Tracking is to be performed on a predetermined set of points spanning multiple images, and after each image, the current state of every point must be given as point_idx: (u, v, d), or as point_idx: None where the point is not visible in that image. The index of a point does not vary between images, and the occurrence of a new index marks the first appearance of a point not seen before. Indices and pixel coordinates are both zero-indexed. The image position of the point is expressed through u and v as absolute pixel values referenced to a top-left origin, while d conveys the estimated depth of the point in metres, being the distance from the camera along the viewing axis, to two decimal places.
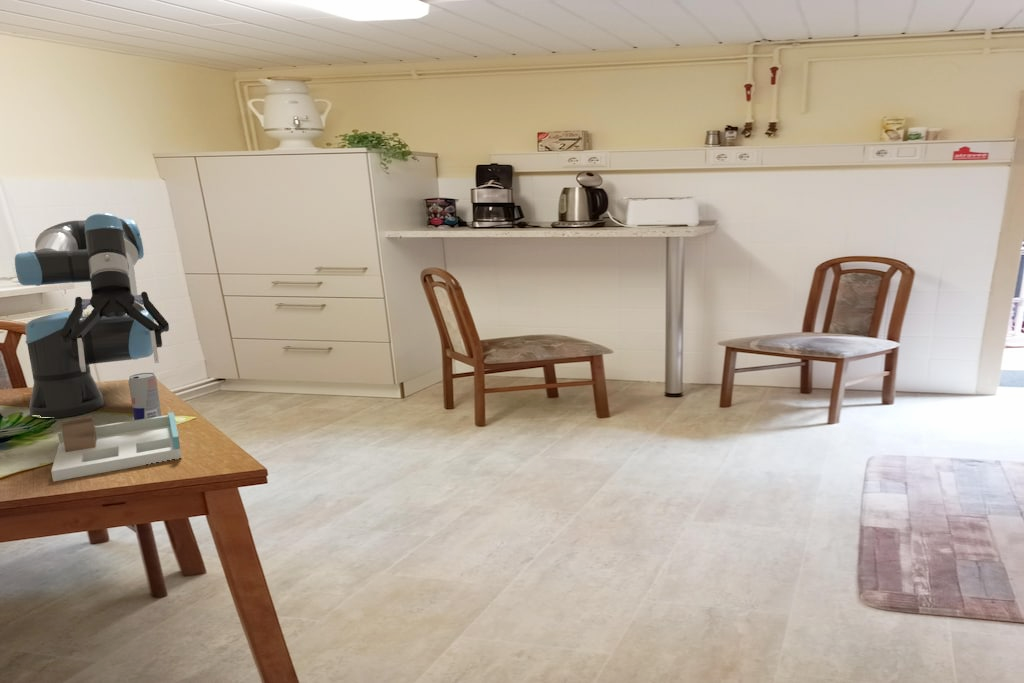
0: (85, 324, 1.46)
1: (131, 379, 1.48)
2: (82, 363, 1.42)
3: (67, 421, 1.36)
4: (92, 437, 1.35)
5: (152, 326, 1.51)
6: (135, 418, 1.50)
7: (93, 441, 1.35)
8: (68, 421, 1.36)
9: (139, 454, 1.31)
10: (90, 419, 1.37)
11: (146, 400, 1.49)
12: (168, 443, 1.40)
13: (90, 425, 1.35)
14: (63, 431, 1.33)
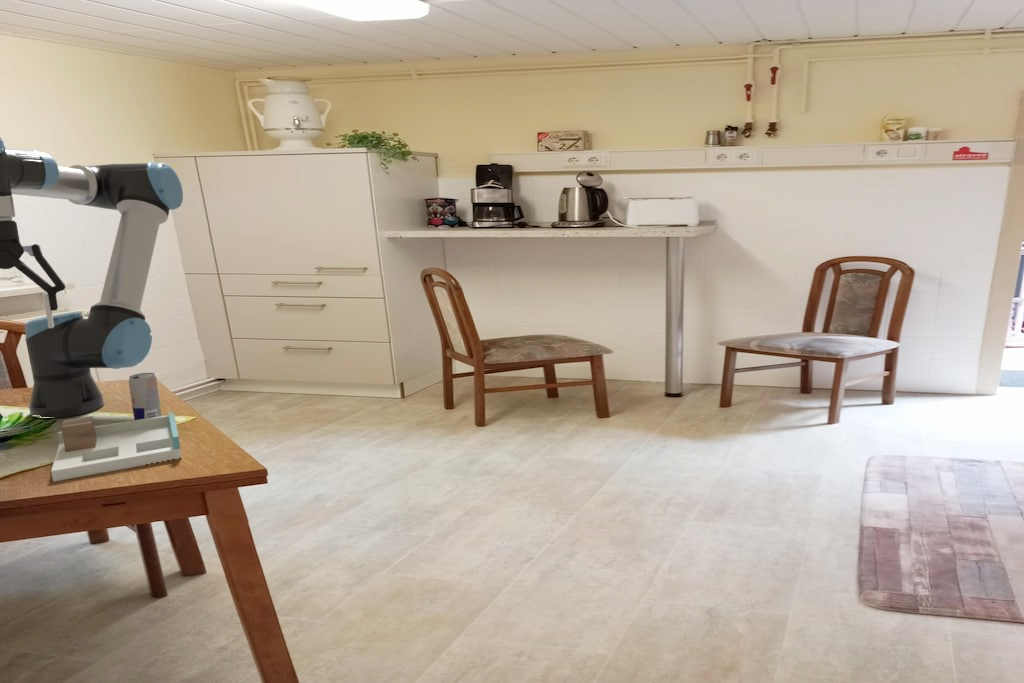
0: None
1: (131, 379, 1.48)
2: None
3: (67, 421, 1.36)
4: (92, 437, 1.35)
5: (45, 289, 1.36)
6: (135, 418, 1.50)
7: (93, 441, 1.35)
8: (68, 421, 1.36)
9: (139, 454, 1.31)
10: (90, 419, 1.37)
11: (146, 400, 1.49)
12: (168, 443, 1.40)
13: (90, 425, 1.35)
14: (63, 431, 1.33)
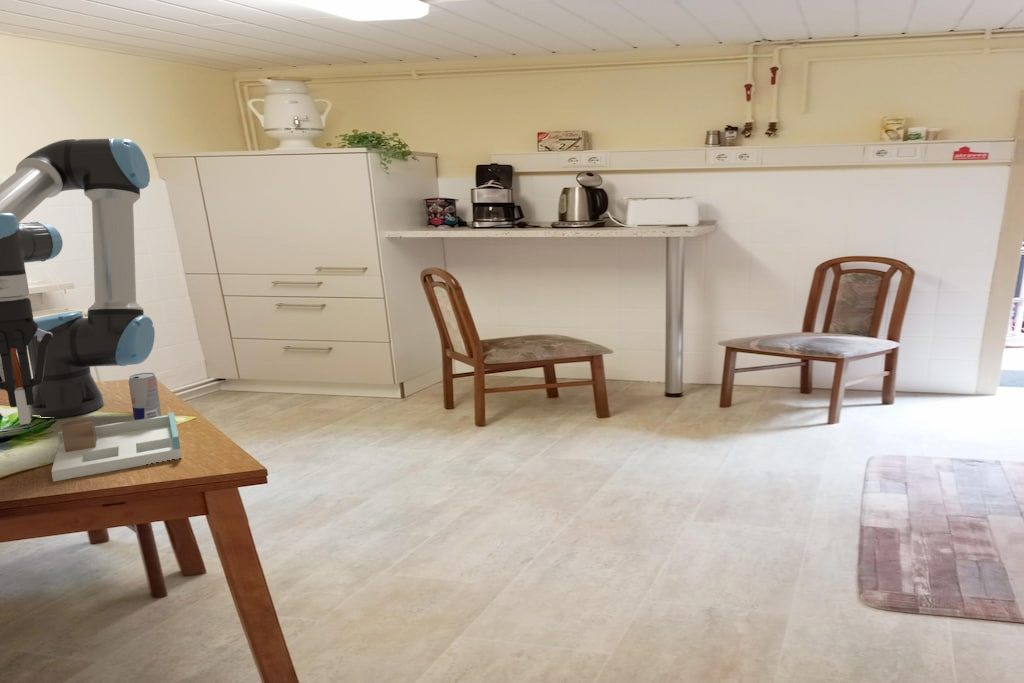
0: (8, 370, 1.28)
1: (131, 379, 1.48)
2: (22, 421, 1.30)
3: (67, 421, 1.36)
4: (92, 437, 1.35)
5: (24, 381, 1.29)
6: (135, 418, 1.50)
7: (93, 441, 1.35)
8: (68, 421, 1.36)
9: (139, 454, 1.31)
10: (90, 419, 1.37)
11: (146, 400, 1.49)
12: (168, 443, 1.40)
13: (90, 425, 1.35)
14: (63, 431, 1.33)
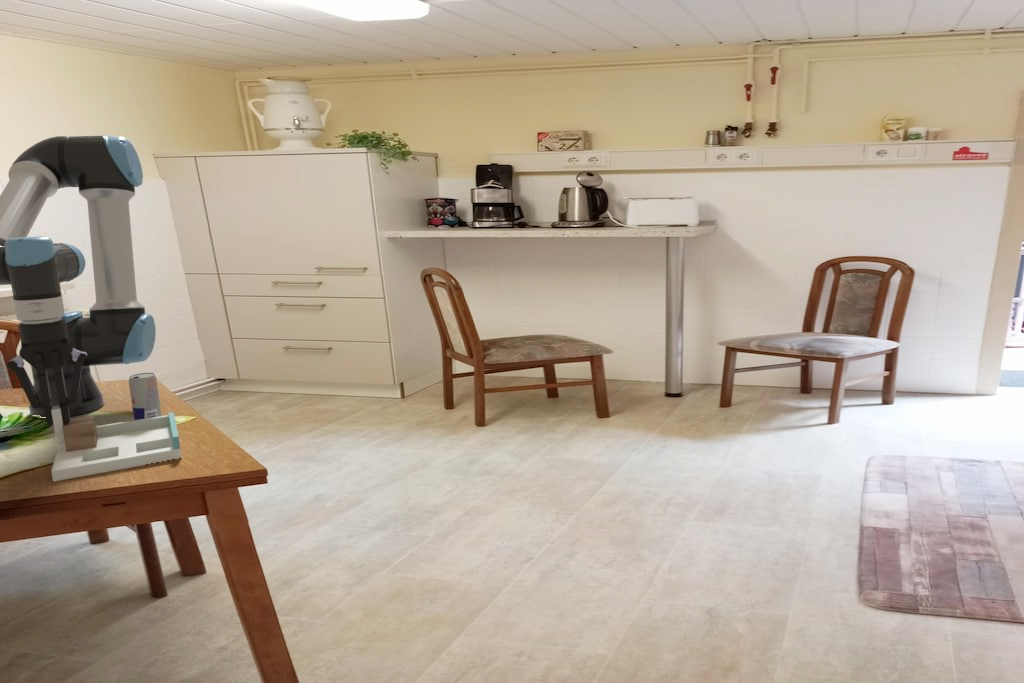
0: (45, 389, 1.31)
1: (131, 379, 1.48)
2: (59, 438, 1.33)
3: None
4: (93, 437, 1.35)
5: (60, 400, 1.33)
6: (135, 418, 1.50)
7: (94, 441, 1.35)
8: (69, 421, 1.36)
9: (139, 454, 1.31)
10: (91, 419, 1.37)
11: (146, 400, 1.49)
12: (168, 443, 1.40)
13: (91, 425, 1.35)
14: (64, 431, 1.33)
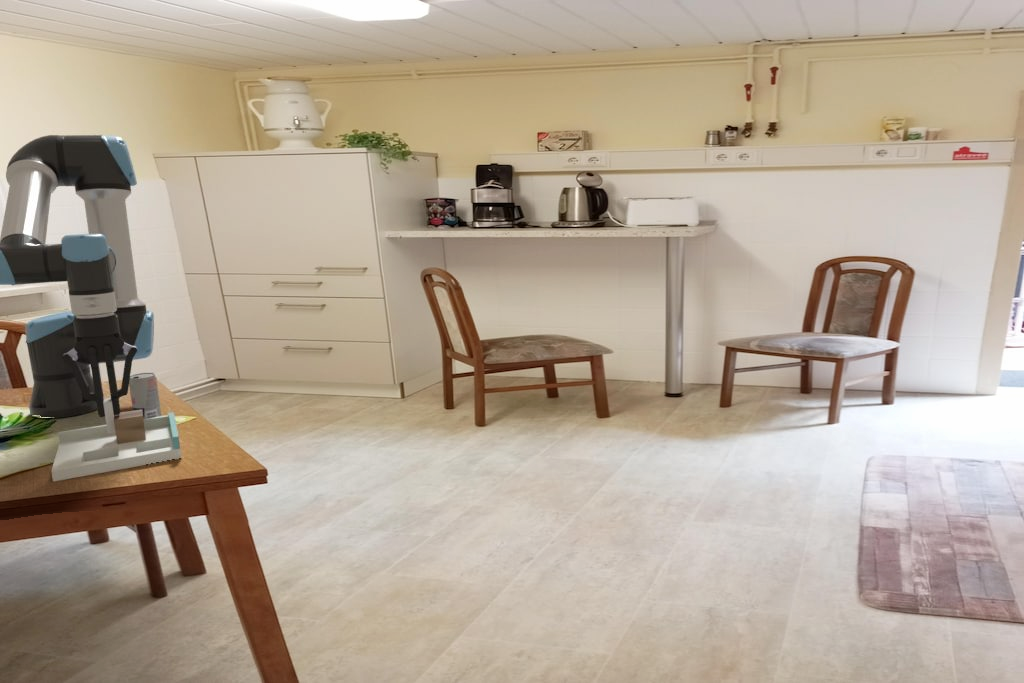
0: (97, 382, 1.35)
1: (131, 379, 1.48)
2: (110, 430, 1.37)
3: None
4: (143, 430, 1.39)
5: (111, 393, 1.36)
6: None
7: (143, 433, 1.39)
8: (119, 414, 1.40)
9: (139, 454, 1.31)
10: (140, 412, 1.40)
11: (146, 400, 1.49)
12: (168, 443, 1.40)
13: (141, 418, 1.38)
14: (115, 423, 1.36)
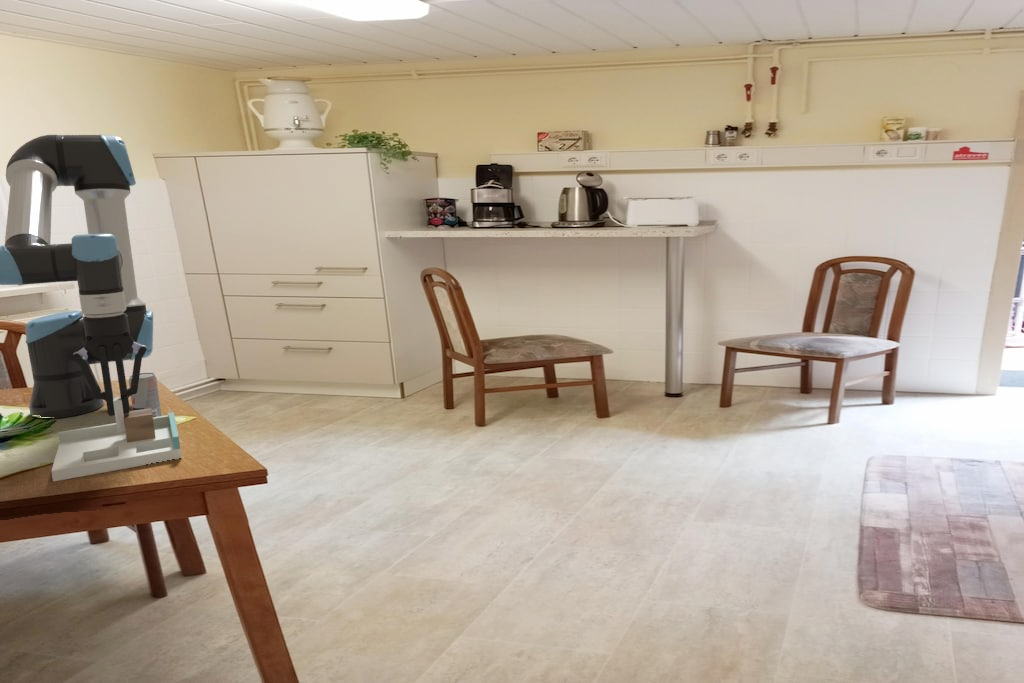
0: (107, 381, 1.36)
1: (131, 379, 1.48)
2: (120, 428, 1.38)
3: (128, 413, 1.40)
4: (152, 428, 1.40)
5: (121, 392, 1.37)
6: None
7: (153, 432, 1.40)
8: (129, 413, 1.40)
9: (139, 454, 1.31)
10: (150, 411, 1.41)
11: (146, 400, 1.49)
12: (168, 443, 1.40)
13: (150, 416, 1.39)
14: (125, 422, 1.37)
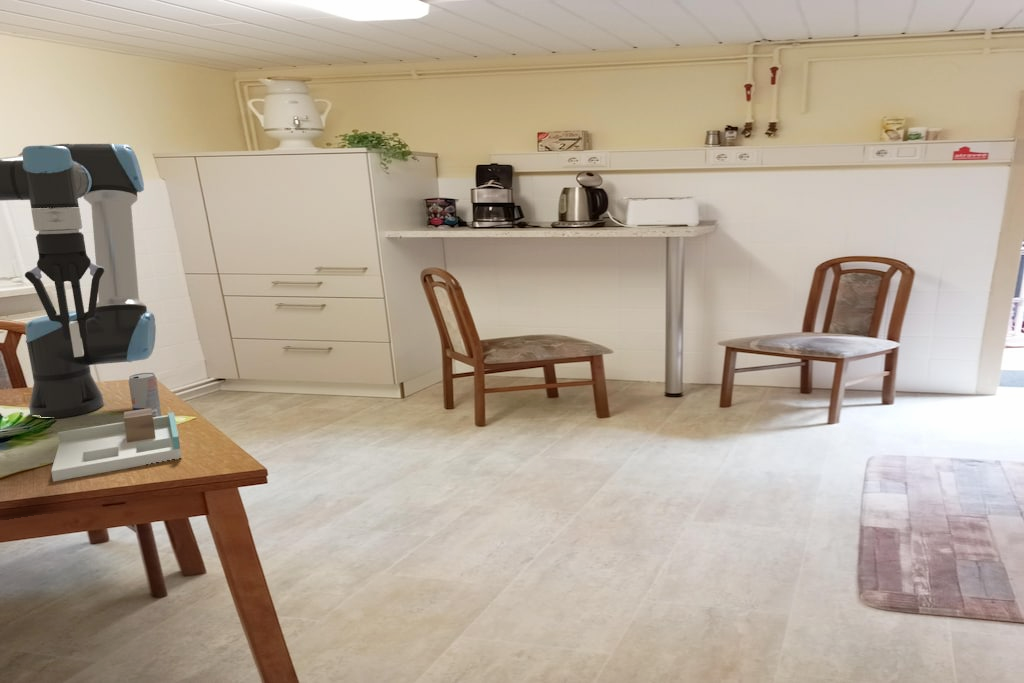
0: (63, 302, 1.30)
1: (131, 379, 1.48)
2: (76, 353, 1.33)
3: (128, 413, 1.40)
4: (152, 428, 1.40)
5: (78, 314, 1.32)
6: None
7: (153, 432, 1.40)
8: (129, 413, 1.40)
9: (139, 454, 1.31)
10: (150, 411, 1.41)
11: (146, 400, 1.49)
12: (168, 443, 1.40)
13: (150, 416, 1.39)
14: (125, 422, 1.37)
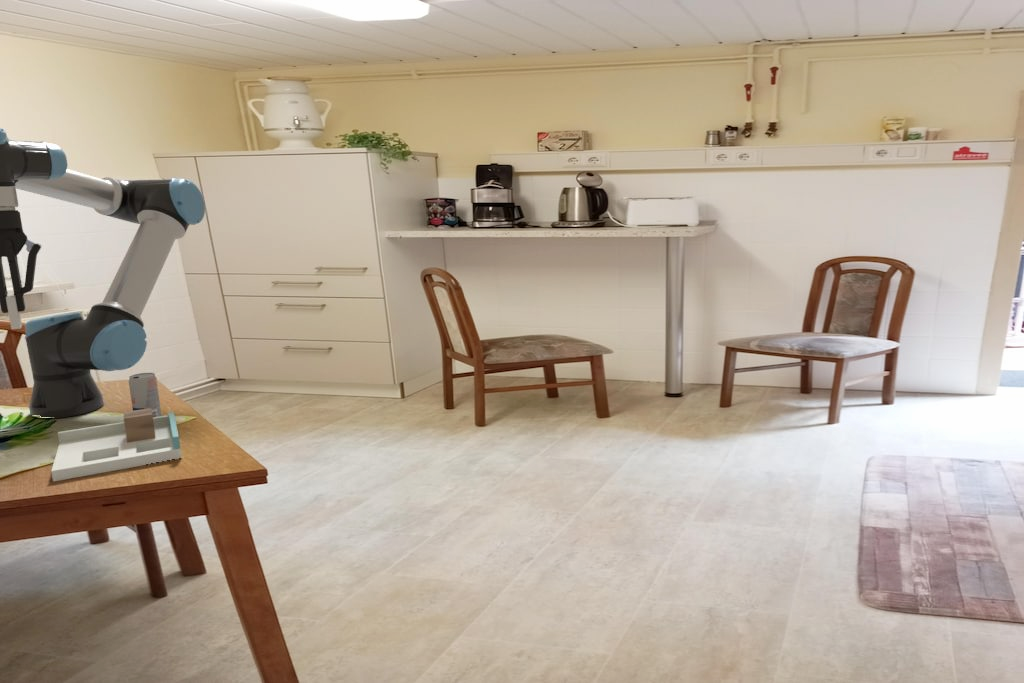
0: None
1: (131, 379, 1.48)
2: (13, 326, 1.39)
3: (128, 413, 1.40)
4: (152, 428, 1.40)
5: (14, 288, 1.38)
6: None
7: (153, 432, 1.40)
8: (129, 413, 1.40)
9: (139, 454, 1.31)
10: (150, 411, 1.41)
11: (146, 400, 1.49)
12: (168, 443, 1.40)
13: (150, 416, 1.39)
14: (125, 422, 1.37)
